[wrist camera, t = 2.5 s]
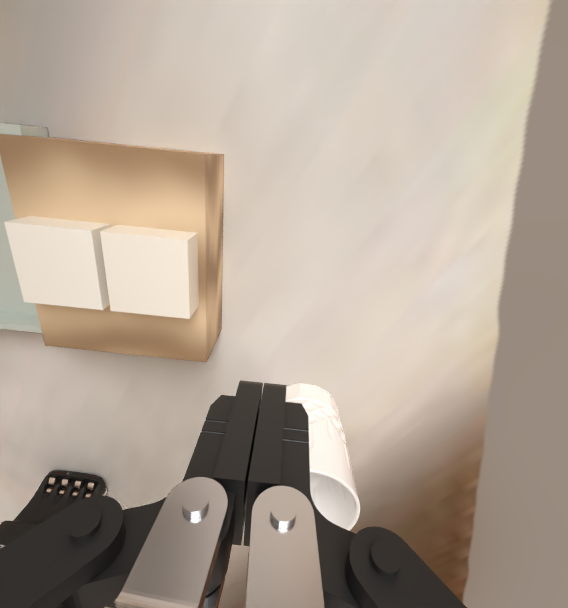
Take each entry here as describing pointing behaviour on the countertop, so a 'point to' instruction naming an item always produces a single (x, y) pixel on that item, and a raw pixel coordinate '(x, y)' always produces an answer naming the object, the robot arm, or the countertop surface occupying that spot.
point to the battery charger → (52, 501)
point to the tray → (3, 277)
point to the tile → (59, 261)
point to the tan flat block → (130, 212)
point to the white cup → (327, 456)
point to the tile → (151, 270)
